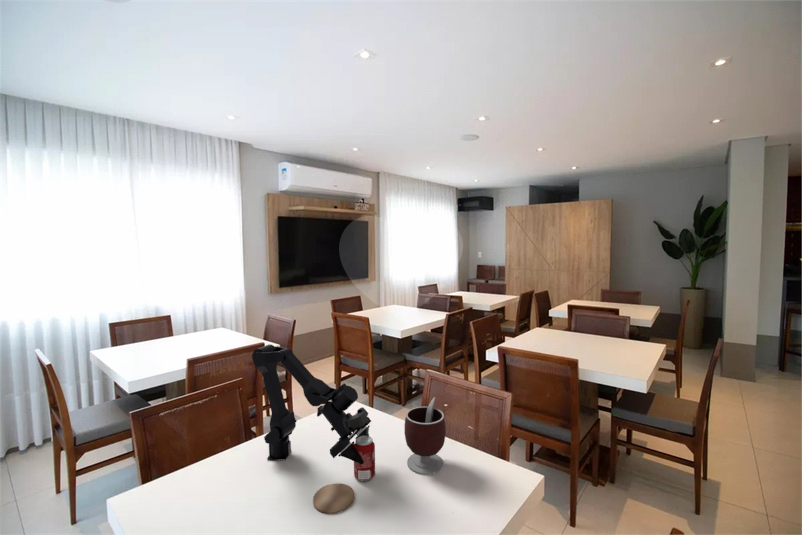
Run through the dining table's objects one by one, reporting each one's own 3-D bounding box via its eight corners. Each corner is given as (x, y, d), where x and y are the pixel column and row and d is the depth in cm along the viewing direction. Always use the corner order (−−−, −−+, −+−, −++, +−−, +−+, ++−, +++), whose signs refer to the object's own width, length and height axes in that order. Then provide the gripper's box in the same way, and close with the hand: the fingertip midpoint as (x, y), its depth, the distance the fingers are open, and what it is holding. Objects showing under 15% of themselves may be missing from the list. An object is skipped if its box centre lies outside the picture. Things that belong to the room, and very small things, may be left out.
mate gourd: (436, 481, 116) (435, 419, 115) (397, 469, 123) (396, 410, 121) (453, 456, 130) (453, 400, 128) (417, 446, 136) (417, 393, 135)
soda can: (371, 484, 115) (371, 446, 114) (351, 481, 116) (350, 444, 116) (377, 471, 122) (377, 435, 121) (358, 468, 123) (357, 433, 122)
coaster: (307, 513, 103) (307, 510, 102) (319, 485, 115) (319, 482, 114) (350, 514, 102) (350, 511, 102) (357, 486, 114) (357, 483, 114)
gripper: (337, 416, 110) (371, 459, 107) (365, 392, 128) (395, 429, 124) (315, 437, 114) (347, 479, 110) (346, 411, 131) (374, 447, 128)
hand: (368, 457), depth 118 cm, fingers open, 7 cm apart
